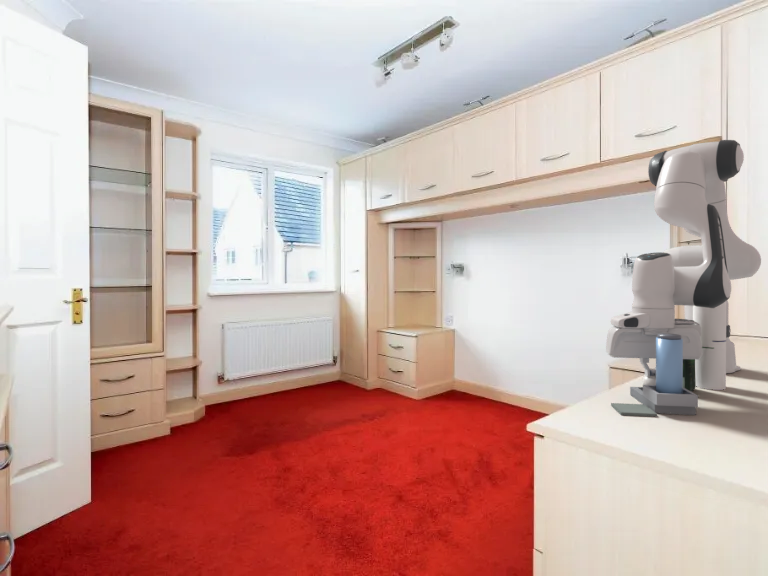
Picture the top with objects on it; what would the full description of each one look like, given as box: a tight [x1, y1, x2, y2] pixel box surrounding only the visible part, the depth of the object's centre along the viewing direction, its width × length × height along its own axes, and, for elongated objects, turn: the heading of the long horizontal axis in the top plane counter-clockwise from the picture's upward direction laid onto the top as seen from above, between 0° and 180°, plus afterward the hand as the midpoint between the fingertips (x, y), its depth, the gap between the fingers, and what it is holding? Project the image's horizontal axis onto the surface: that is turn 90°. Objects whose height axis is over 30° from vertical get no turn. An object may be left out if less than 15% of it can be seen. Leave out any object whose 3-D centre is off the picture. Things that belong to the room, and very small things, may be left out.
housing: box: [629, 384, 699, 416], centre depth 101 cm, size 16×8×4 cm, turn 169°
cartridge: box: [655, 334, 683, 394], centre depth 97 cm, size 5×5×15 cm
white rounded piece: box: [642, 375, 656, 386], centre depth 106 cm, size 4×4×3 cm
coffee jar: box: [675, 318, 697, 392], centre depth 114 cm, size 10×8×19 cm
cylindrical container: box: [693, 301, 727, 391], centre depth 116 cm, size 7×7×25 cm
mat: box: [610, 402, 658, 417], centre depth 97 cm, size 7×7×1 cm
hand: (652, 376), depth 106 cm, fingers closed
